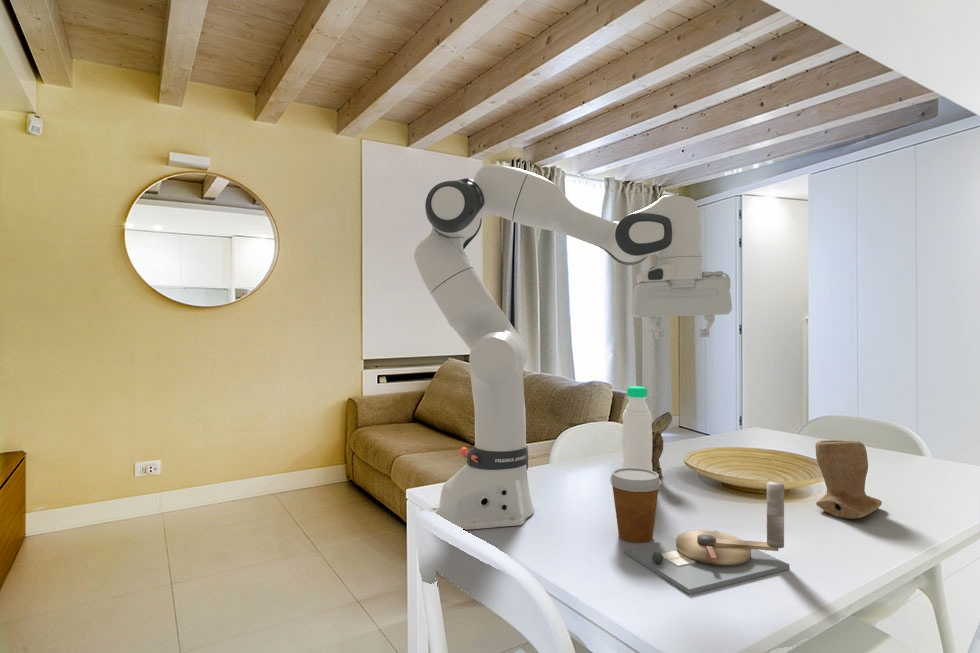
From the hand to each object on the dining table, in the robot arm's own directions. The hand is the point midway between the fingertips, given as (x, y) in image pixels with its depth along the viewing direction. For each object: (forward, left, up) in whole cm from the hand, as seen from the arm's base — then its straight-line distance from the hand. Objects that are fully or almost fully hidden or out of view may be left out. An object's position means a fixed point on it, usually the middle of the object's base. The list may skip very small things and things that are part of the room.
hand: (682, 337), depth 117 cm
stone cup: (+33, -12, -38) cm, 52 cm away
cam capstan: (-9, -21, -36) cm, 43 cm away
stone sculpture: (+11, +25, -38) cm, 46 cm away
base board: (-13, -20, -37) cm, 44 cm away
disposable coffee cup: (-17, -6, -38) cm, 42 cm away
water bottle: (+1, +17, -38) cm, 41 cm away
